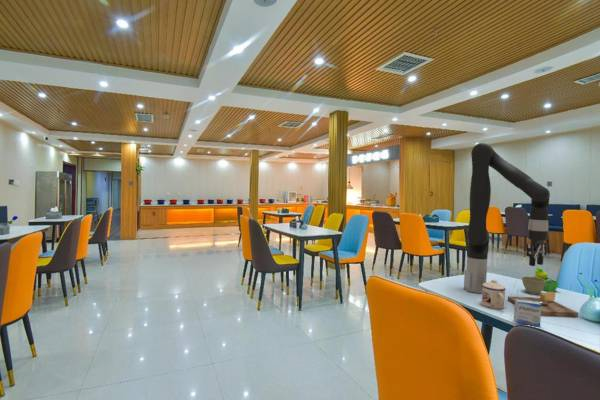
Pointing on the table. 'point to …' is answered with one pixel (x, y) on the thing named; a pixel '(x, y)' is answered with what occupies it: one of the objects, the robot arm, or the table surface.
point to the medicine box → (527, 312)
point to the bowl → (533, 284)
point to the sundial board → (550, 308)
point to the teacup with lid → (493, 295)
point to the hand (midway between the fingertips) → (536, 265)
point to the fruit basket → (550, 283)
